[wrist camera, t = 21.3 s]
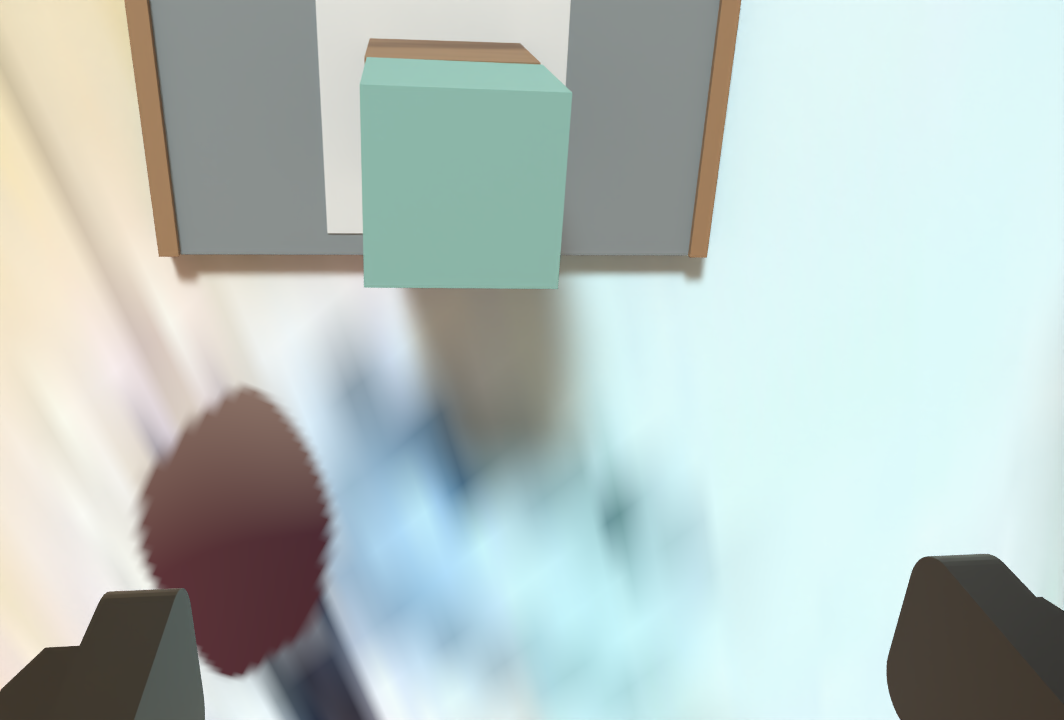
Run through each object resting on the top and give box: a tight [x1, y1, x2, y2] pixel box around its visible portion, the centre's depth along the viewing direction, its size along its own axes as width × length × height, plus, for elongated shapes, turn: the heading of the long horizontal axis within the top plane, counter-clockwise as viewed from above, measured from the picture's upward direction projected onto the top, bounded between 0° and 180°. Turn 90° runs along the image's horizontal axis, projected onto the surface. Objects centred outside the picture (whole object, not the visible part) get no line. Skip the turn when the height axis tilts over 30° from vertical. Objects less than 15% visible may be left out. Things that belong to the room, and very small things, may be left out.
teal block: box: [360, 57, 572, 289], centre depth 30 cm, size 6×6×6 cm
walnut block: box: [364, 38, 541, 65], centre depth 35 cm, size 6×6×6 cm
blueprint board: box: [125, 0, 741, 257], centre depth 38 cm, size 12×24×2 cm, turn 87°
